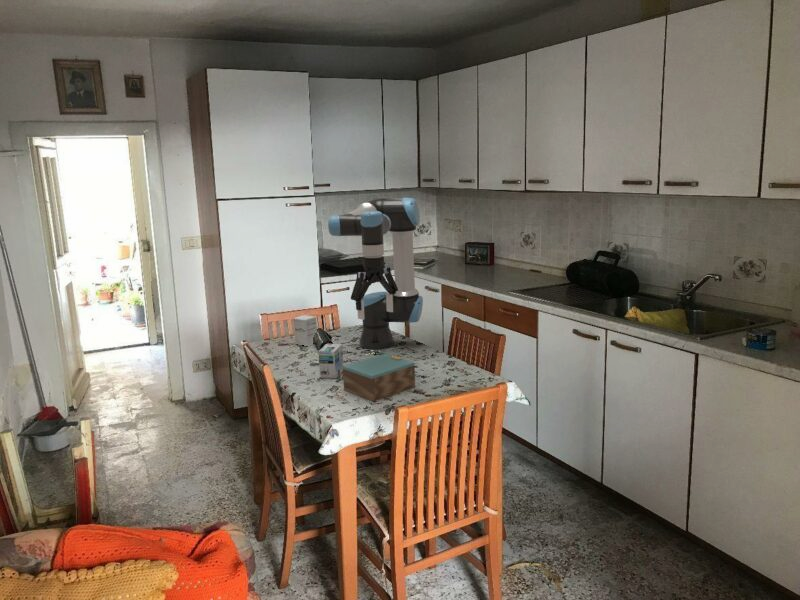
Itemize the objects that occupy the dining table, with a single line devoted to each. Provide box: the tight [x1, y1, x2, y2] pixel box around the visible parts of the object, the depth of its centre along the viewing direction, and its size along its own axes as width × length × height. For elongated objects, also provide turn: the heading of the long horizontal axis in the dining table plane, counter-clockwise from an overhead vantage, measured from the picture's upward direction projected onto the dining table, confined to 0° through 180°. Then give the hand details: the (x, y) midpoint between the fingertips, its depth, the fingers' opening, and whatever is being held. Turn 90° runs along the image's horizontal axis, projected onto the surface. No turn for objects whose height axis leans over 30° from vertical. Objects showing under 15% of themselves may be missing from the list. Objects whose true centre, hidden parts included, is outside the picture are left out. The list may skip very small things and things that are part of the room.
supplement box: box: [293, 314, 318, 347], centre depth 291 cm, size 7×7×13 cm
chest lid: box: [343, 353, 415, 379], centre depth 231 cm, size 20×16×2 cm
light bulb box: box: [318, 343, 345, 379], centre depth 249 cm, size 11×7×11 cm, turn 168°
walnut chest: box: [342, 365, 416, 402], centre depth 232 cm, size 20×16×8 cm
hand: (375, 315), depth 230 cm, fingers open, 13 cm apart
